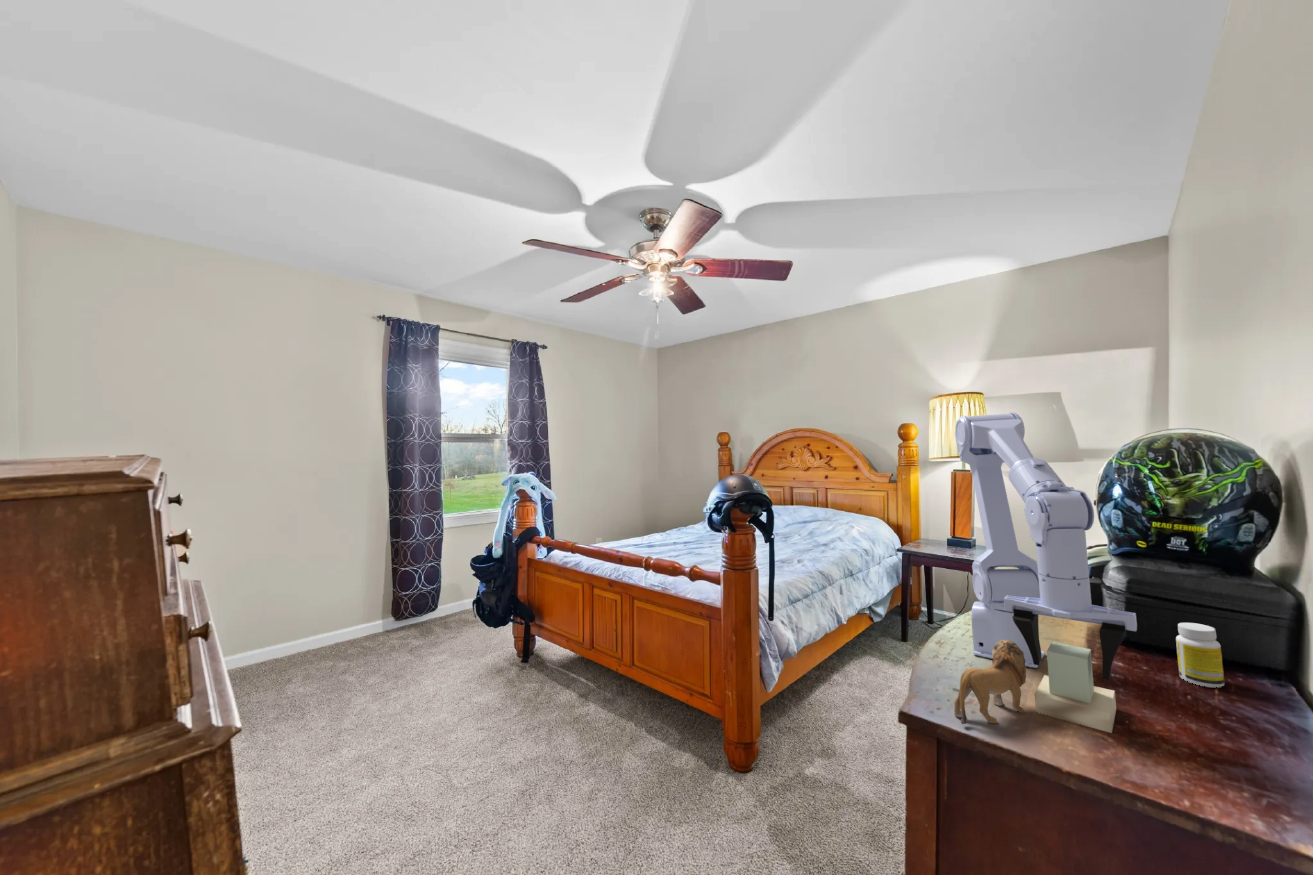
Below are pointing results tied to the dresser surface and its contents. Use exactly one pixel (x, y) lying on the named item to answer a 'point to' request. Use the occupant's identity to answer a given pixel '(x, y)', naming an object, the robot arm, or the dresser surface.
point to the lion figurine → (994, 680)
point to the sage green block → (1070, 672)
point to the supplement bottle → (1199, 655)
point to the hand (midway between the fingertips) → (1071, 669)
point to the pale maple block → (1078, 707)
